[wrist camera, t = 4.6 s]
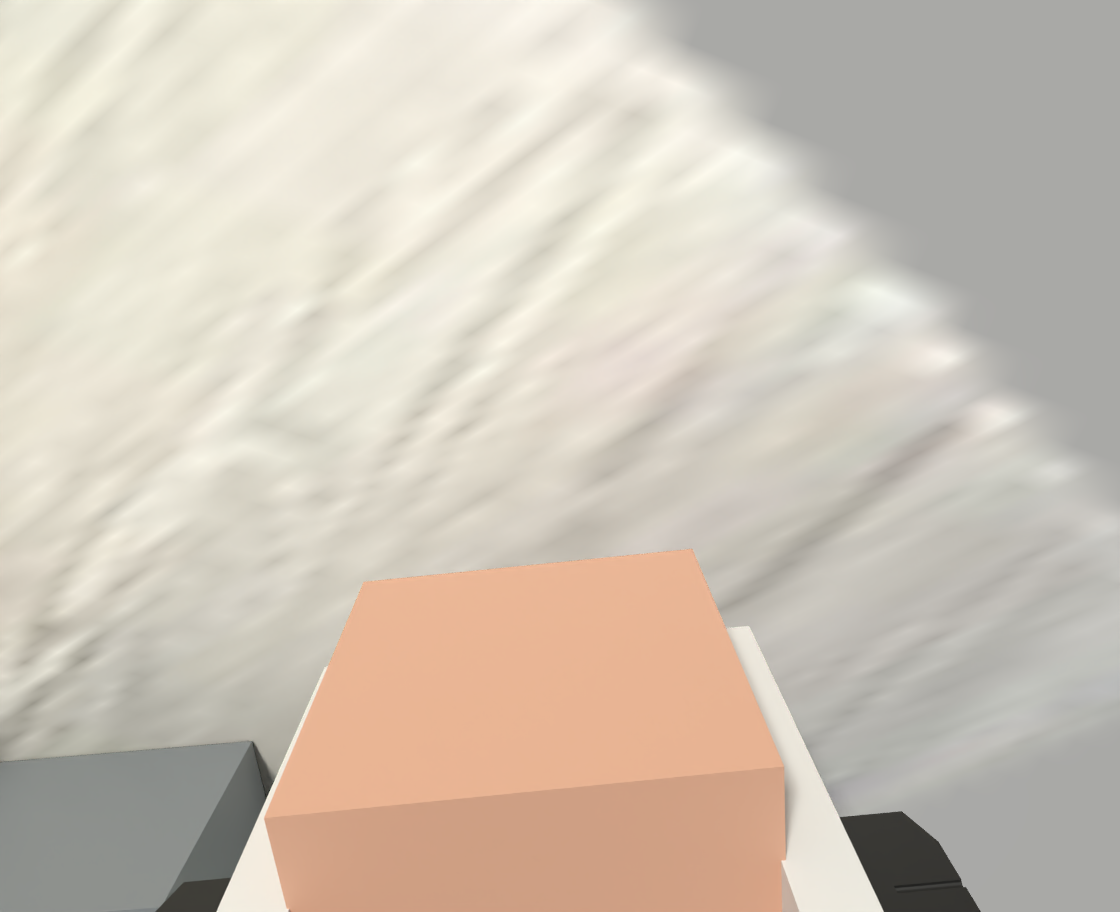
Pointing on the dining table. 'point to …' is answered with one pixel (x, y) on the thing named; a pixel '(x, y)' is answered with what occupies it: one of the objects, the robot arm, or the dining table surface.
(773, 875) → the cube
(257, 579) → the dining table surface
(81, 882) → the tote
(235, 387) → the dining table surface
